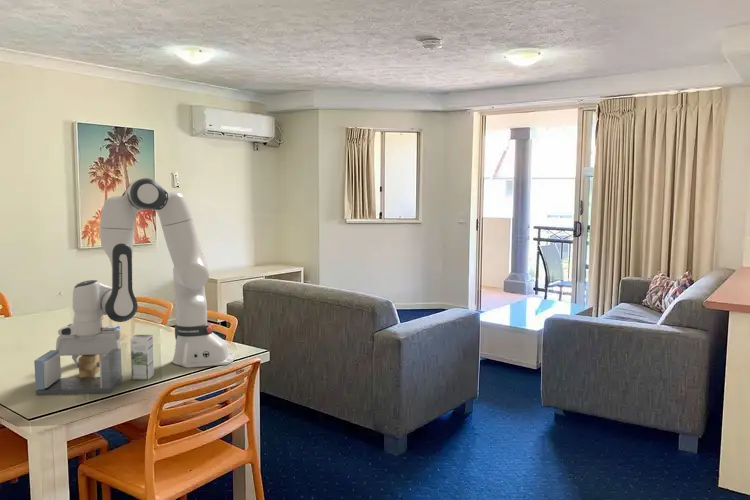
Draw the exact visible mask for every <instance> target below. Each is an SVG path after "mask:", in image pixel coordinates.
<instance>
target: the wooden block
mask: <svg viewBox="0 0 750 500" xmlns="http://www.w3.org/2000/svg"><path fill="white" fill-rule="evenodd" d="M77 358H78V357H77ZM78 359H79V368H78V378H83V377H96V375H97V374H98V373H100V367H97V364H96V363H97V362H98V361H99V355H80V357H79V358H78Z"/></svg>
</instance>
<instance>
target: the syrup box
mask: <svg viewBox="0 0 750 500" xmlns="http://www.w3.org/2000/svg"><path fill="white" fill-rule="evenodd" d="M130 359H131V361H130V362H131V365H130V366H131V380H133V381H134V380H137V381H139V380H140V381H141V380H143V381H147V380H150V379H151V378H153V376H154V375H155V371H154V337H153V334H135V335H133V336H132V337H130Z"/></svg>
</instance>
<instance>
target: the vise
mask: <svg viewBox="0 0 750 500" xmlns="http://www.w3.org/2000/svg"><path fill="white" fill-rule="evenodd" d="M122 368H123V367H122V348H121V349H113V350H111V351H110V352H109V353H108V354H107V355H105V356H104V357H103V358H102V359H101V361H100V371H99V376H93V377H83V378H79V377H60V378H59V379H58V380H57V381H55V382H54V383H53V384H51V385H50V386H49V387H48V388H45V389H41V390H36V389H35V396H50V395H51V396H53V395H54V396H55V395H57V396H58V395H59V394H62V395H86V394H88V395H89V394H111V393H112V392H113V391H114V390H115V389H116V387H118V386H119V384H120V383H122V381H123V378H122V377H123V375H122V374H123V373H122Z"/></svg>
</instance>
